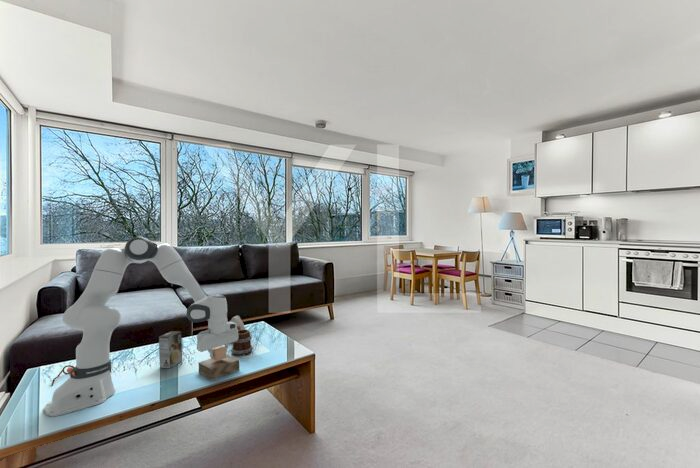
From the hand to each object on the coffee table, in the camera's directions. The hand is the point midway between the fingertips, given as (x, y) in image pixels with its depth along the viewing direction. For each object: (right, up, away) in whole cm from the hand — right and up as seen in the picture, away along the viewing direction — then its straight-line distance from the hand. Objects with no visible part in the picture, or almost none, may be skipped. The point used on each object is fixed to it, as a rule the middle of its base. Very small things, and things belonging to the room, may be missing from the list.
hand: (218, 354), depth 159 cm
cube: (0, -2, 0) cm, 2 cm away
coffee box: (-29, -9, +9) cm, 31 cm away
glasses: (-67, -10, -4) cm, 68 cm away
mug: (+2, -8, +25) cm, 27 cm away
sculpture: (-8, -8, +46) cm, 47 cm away
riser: (0, -8, 0) cm, 8 cm away
